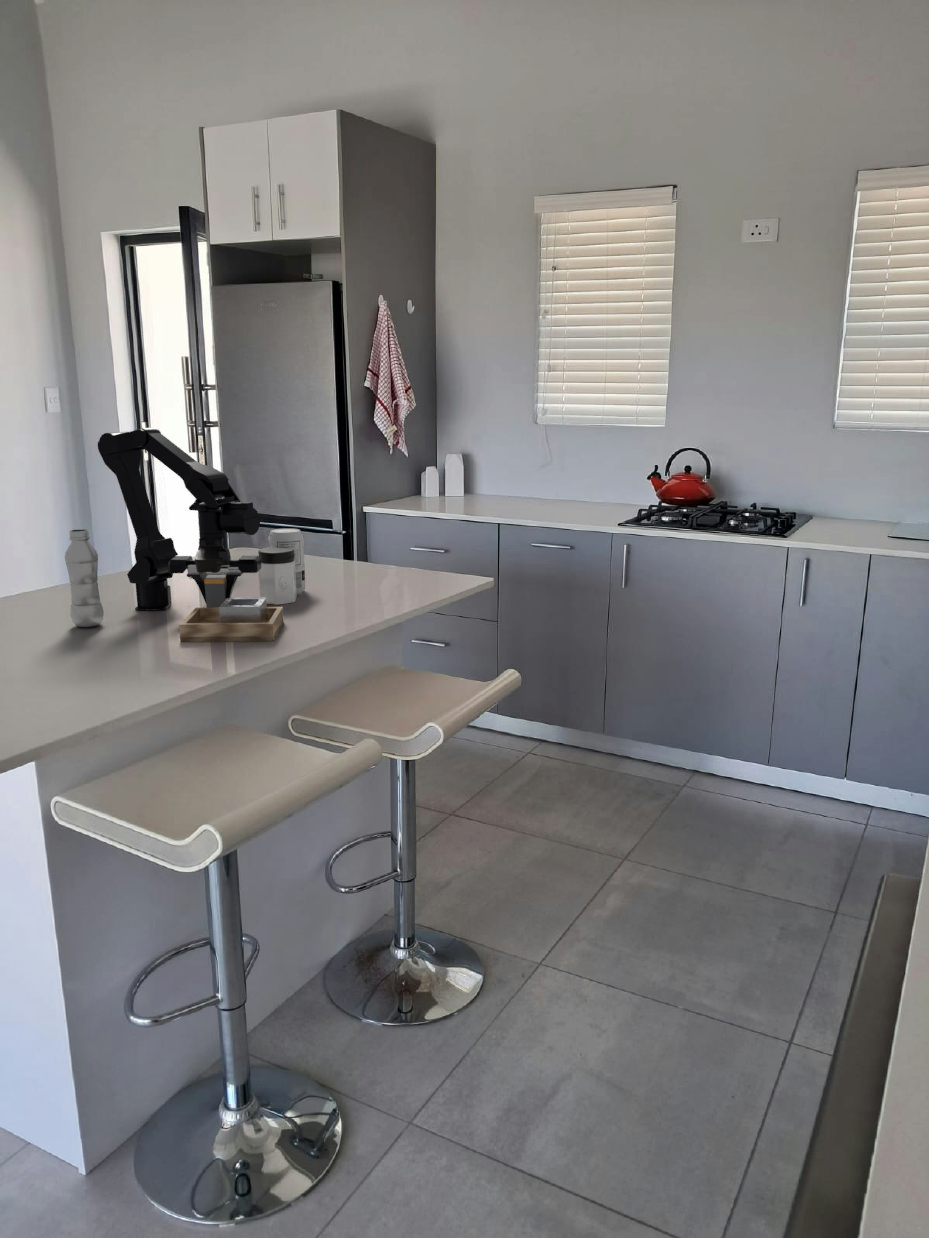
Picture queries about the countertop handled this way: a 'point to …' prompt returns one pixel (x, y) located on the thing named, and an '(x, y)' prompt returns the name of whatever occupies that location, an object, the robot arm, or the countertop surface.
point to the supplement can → (295, 541)
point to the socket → (243, 610)
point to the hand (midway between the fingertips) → (217, 603)
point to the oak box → (228, 627)
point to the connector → (215, 590)
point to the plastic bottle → (83, 580)
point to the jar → (277, 575)
